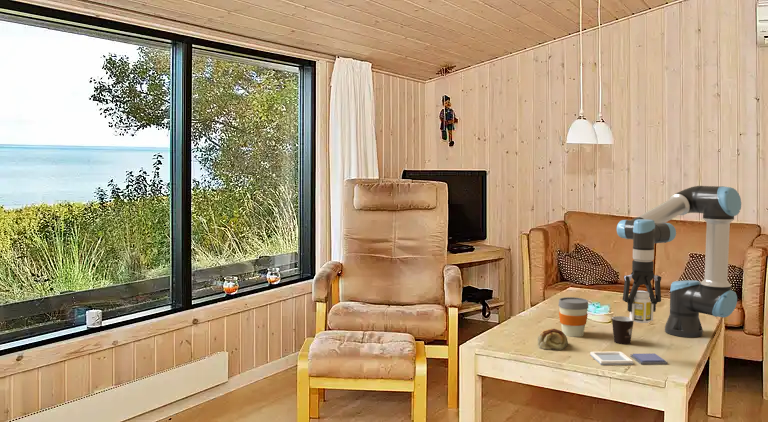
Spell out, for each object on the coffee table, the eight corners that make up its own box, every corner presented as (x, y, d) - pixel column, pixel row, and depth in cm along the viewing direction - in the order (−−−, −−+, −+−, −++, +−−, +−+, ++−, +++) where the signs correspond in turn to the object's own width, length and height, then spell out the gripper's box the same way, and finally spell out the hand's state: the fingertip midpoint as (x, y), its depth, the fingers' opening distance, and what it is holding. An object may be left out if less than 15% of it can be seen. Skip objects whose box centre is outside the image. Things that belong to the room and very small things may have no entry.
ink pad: (655, 356, 257) (655, 352, 257) (667, 364, 247) (667, 360, 247) (630, 356, 257) (630, 353, 257) (641, 364, 247) (641, 361, 247)
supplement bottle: (646, 319, 257) (647, 290, 256) (652, 323, 250) (653, 293, 249) (629, 319, 257) (630, 290, 256) (635, 323, 250) (636, 293, 249)
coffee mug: (619, 345, 271) (620, 321, 271) (606, 340, 280) (607, 316, 279) (643, 343, 274) (644, 319, 274) (630, 338, 283) (631, 315, 282)
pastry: (546, 352, 263) (546, 332, 262) (530, 343, 275) (530, 324, 274) (577, 349, 267) (577, 329, 267) (560, 341, 279) (560, 322, 278)
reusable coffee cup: (584, 330, 295) (585, 297, 294) (590, 338, 283) (591, 303, 281) (555, 330, 296) (556, 296, 295) (560, 337, 284) (561, 303, 283)
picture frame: (620, 355, 259) (620, 351, 259) (633, 364, 247) (633, 360, 247) (590, 355, 258) (590, 351, 258) (601, 365, 247) (601, 361, 246)
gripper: (664, 258, 255) (662, 317, 257) (614, 258, 255) (612, 317, 257) (672, 261, 248) (670, 322, 250) (620, 261, 248) (619, 322, 250)
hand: (641, 319), depth 253 cm, fingers closed on supplement bottle, 6 cm apart
